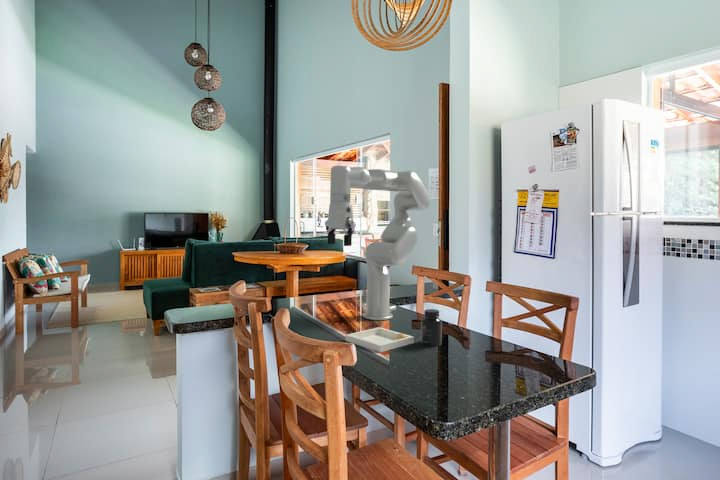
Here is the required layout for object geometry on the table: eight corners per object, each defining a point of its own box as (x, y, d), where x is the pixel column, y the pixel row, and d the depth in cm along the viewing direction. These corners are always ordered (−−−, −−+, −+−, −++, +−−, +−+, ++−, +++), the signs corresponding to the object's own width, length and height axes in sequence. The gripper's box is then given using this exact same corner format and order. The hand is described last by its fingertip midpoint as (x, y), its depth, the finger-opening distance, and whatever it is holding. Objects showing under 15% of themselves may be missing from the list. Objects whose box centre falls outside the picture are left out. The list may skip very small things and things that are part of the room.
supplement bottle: (427, 342, 155) (428, 307, 154) (445, 346, 151) (446, 310, 150) (416, 346, 150) (417, 310, 149) (434, 350, 145) (435, 313, 145)
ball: (400, 340, 152) (400, 331, 152) (407, 342, 150) (407, 333, 150) (394, 342, 150) (394, 333, 150) (401, 344, 148) (401, 335, 148)
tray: (378, 335, 162) (379, 327, 162) (413, 345, 150) (414, 336, 150) (345, 343, 151) (345, 334, 151) (380, 355, 139) (380, 345, 139)
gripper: (363, 199, 166) (362, 246, 167) (334, 199, 179) (333, 243, 180) (347, 198, 161) (346, 246, 162) (318, 199, 174) (317, 243, 175)
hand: (339, 244), depth 171 cm, fingers open, 9 cm apart
